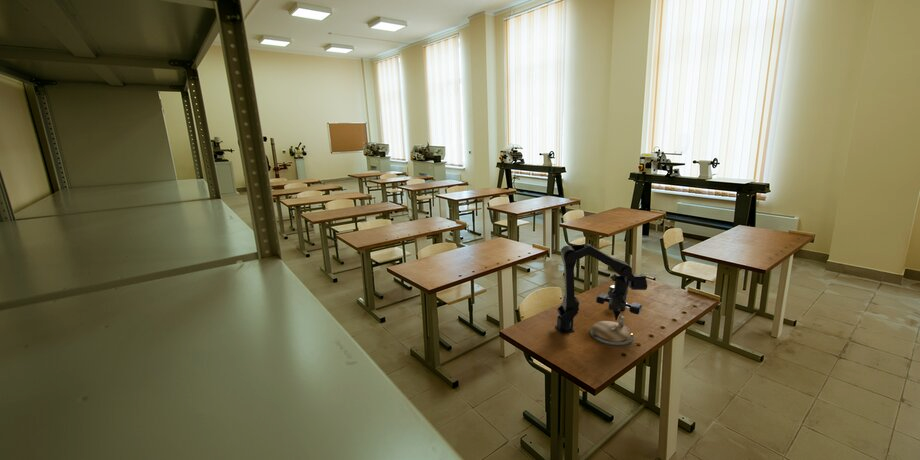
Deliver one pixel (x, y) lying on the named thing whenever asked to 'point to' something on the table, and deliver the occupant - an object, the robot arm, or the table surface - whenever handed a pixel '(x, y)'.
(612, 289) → the pneumatic valve
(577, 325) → the table surface
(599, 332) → the dial
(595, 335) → the dial housing
